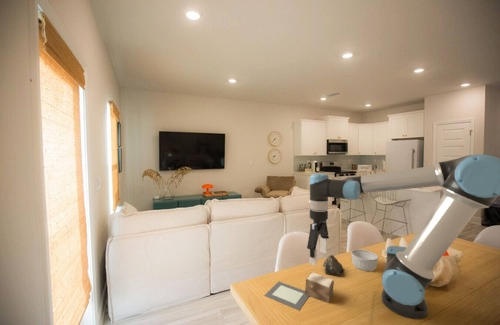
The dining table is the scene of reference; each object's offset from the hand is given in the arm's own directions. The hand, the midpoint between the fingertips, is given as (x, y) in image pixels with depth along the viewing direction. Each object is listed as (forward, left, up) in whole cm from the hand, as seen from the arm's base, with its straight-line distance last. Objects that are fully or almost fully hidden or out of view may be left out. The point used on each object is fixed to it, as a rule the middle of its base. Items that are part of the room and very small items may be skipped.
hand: (318, 258), depth 95 cm
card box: (0, 0, -16) cm, 16 cm away
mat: (+11, +8, -16) cm, 21 cm away
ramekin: (-12, -39, -17) cm, 44 cm away
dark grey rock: (0, -23, -17) cm, 28 cm away
